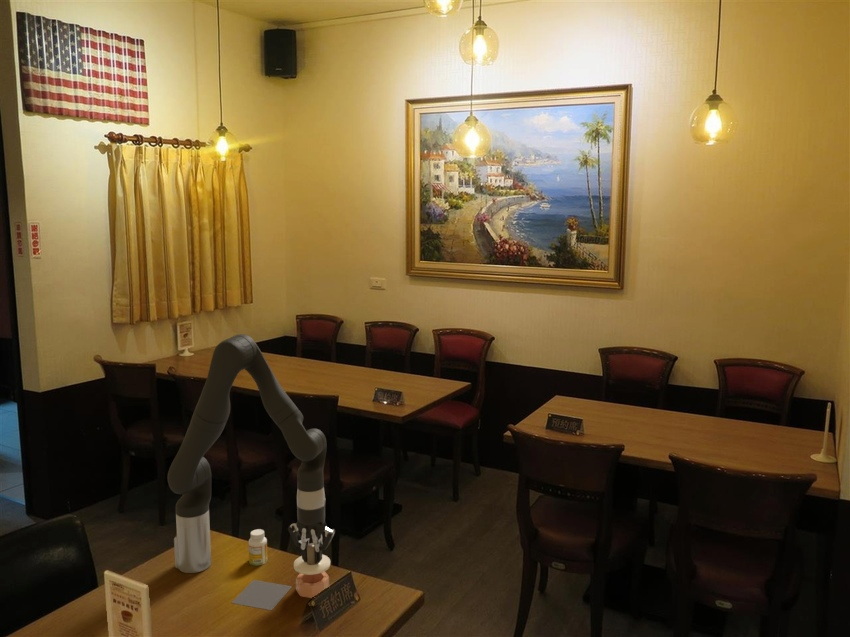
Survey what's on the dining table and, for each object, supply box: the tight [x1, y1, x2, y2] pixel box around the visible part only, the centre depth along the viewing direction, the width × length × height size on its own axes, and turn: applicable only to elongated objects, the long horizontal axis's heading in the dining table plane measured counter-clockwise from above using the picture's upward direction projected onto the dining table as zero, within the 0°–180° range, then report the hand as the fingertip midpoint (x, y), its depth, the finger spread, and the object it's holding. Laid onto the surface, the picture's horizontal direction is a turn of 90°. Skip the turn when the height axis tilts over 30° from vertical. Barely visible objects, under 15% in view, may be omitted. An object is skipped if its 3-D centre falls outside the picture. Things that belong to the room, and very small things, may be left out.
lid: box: [293, 542, 331, 575], centre depth 191 cm, size 10×10×6 cm
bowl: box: [295, 571, 330, 599], centre depth 193 cm, size 8×8×4 cm
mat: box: [231, 579, 293, 611], centre depth 190 cm, size 12×12×1 cm
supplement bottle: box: [248, 528, 268, 566], centre depth 207 cm, size 5×5×10 cm
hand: (312, 561), depth 191 cm, fingers closed on lid, 2 cm apart
